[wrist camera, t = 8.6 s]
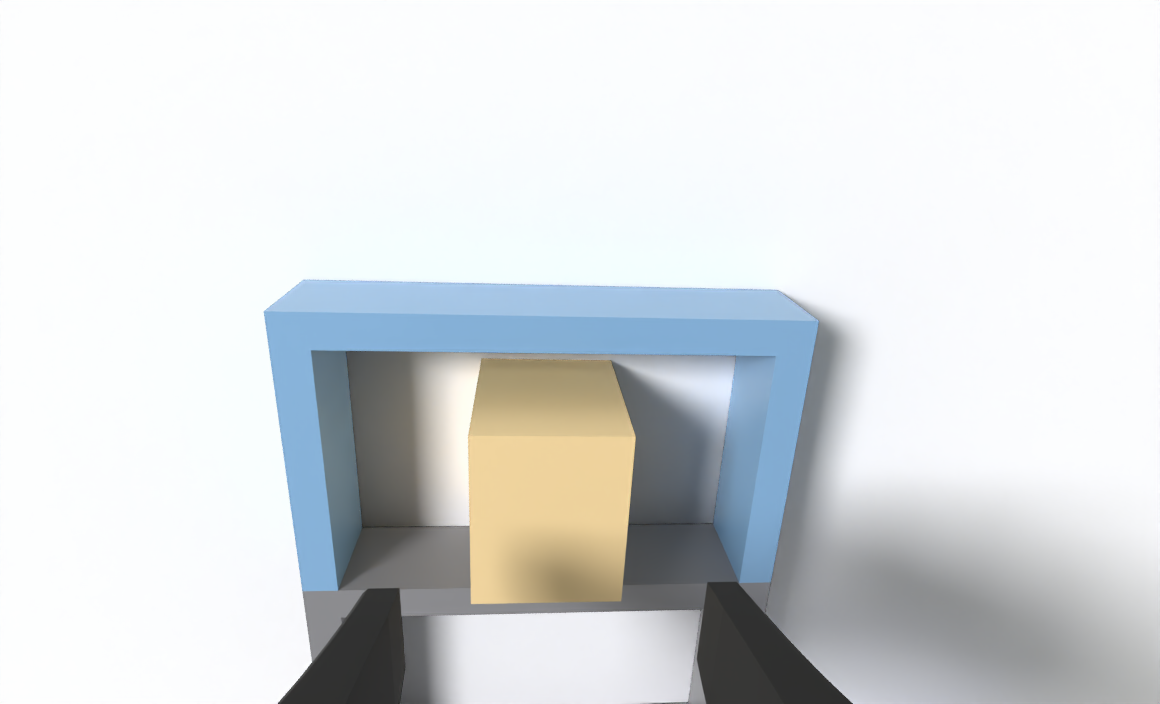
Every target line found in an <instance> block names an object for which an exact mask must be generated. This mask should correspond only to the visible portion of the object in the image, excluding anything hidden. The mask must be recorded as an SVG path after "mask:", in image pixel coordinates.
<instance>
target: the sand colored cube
mask: <svg viewBox="0 0 1160 704" xmlns="http://www.w3.org/2000/svg"><path fill="white" fill-rule="evenodd" d="M635 441H636V436H635V433H634V430H633V427H632V423H631V420H630V417H629V414H628V411H627V408H626V405H625V402H624V399H623V396H622V393H621V390H620V387H619V384H618V381H617V378H616V375H615V372H614V368H613V365H612V362H611V360H550V359H487V358H482V359H481V365H480V371H479V377H478V382H477V388H476V394H475V400H474V405H473V411H472V417H471V423H470V428H469V434H468V455H469V517H470V579H471V604H504V603H559V602H614V601H621V598H622V587H623V576H624V565H625V553H626V542H627V531H628V519H629V508H630V497H631V486H632V474H633V463H634V452H635Z"/></svg>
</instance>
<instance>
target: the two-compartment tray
mask: <svg viewBox="0 0 1160 704" xmlns="http://www.w3.org/2000/svg"><path fill="white" fill-rule="evenodd" d="M264 316H265V323H266V330H267V338H268V345H269V352H270V359H271V367H272V374H273V381H274V388H275V396H276V403H277V410H278V417H279V425H280V432H281V439H282V446H283V453H284V461H285V468H286V475H287V482H288V490H289V497H290V504H291V511H292V519H293V526H294V533H295V540H296V548H297V555H298V562H299V569H300V577H301V584H302V591H303V598H304V605H305V613H306V620H307V627H308V634H309V642H310V649H311V656H312V662H313V661H314V659H315V658H316V657H317V656H318V654H319V653H320V652H321V651H322V649H323V648H324V647H325V645H326V644H327V643H328V641H329V640H330V639H331V637H332V636H333V635H334V633H335V632H336V631H337V629H338V628H339V627H340V625H341V624H342V622H343V621H344V620H345V618H346V617H347V615H348V614H349V613H350V611H351V610H352V608H353V607H354V605H355V604H356V602H357V601H358V599H359V598H360V596H361V595H362V593H363V592H365V591H366V590H367V589H370V588H400V601H401V615H402V616H434V615H478V614H522V613H566V612H611V611H655V610H699V609H701V614H700V621H699V628H698V636H697V643H696V650H695V657H694V664H693V672H692V679H691V686H690V693H689V700H688V703H667V704H706V701H705V697H704V692H703V688H702V683H701V678H700V673H699V668H698V663H697V652H698V645H699V638H700V631H701V624H702V617H703V610H704V603H705V595H706V588H707V582H737V583H738V584H739V585H740V586H741V587H742V588H743V589H744V590H745V591H746V593H747V594H748V595H749V596H750V597H751V598H752V599H753V601H754V602H755V603H756V604H757V605H758V606H759V607H760V609H761V610H762V611H763V612H764V613H765V611H766V606H767V600H768V595H769V590H770V584H771V579H772V573H773V568H774V562H775V557H776V552H777V546H778V541H779V535H780V530H781V524H782V519H783V514H784V508H785V503H786V497H787V492H788V487H789V481H790V476H791V470H792V465H793V459H794V454H795V449H796V443H797V438H798V432H799V427H800V422H801V416H802V411H803V405H804V400H805V394H806V389H807V384H808V378H809V373H810V367H811V362H812V357H813V351H814V346H815V340H816V335H817V329H818V324H819V321H818V320H817V319H816V318H814V317H813V316H812V315H810V314H809V313H808V312H806V311H805V310H804V309H802V308H801V307H800V306H798V305H797V304H796V303H794V302H793V301H792V300H790V299H789V298H788V297H786V296H785V295H784V294H782V293H781V292H780V291H778V290H752V289H706V288H660V287H614V286H567V285H521V284H475V283H428V282H382V281H336V280H303V281H301V282H300V283H299V284H298V285H296V286H295V287H294V288H293V289H291V290H290V291H289V292H288V293H286V294H285V295H284V296H283V297H281V298H280V299H279V300H278V301H276V302H275V303H274V304H272V305H271V306H270V307H269V308H267V309H266V310H265V311H264ZM346 351H408V352H488V353H569V354H650V355H730V356H736V363H735V370H734V377H733V384H732V392H731V399H730V406H729V413H728V420H727V427H726V435H725V442H724V449H723V456H722V463H721V471H720V478H719V485H718V492H717V499H716V506H715V514H714V521H713V524H646V525H628V531H627V542H626V553H625V565H624V576H623V587H622V598H621V601H614V602H559V603H504V604H471V579H470V526H461V527H369V528H362V518H361V507H360V496H359V486H358V475H357V464H356V453H355V442H354V432H353V421H352V410H351V399H350V389H349V378H348V367H347V356H346Z"/></svg>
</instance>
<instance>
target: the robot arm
mask: <svg viewBox="0 0 1160 704" xmlns="http://www.w3.org/2000/svg"><path fill="white" fill-rule="evenodd" d="M697 663H698V668H699V673H700V678H701V683H702V688H703V692H704V697H705V701H706V704H853V703H851V702H850V701H849V700H848V699H847V698H846V697H845V696H844V695H843V694H842V693H841V692H840V691H839V690H838V689H837V688H835V687H834V686H833V685H832V684H831V683H830V682H829V681H828V680H827V679H826V678H825V677H824V676H823V675H822V674H821V673H820V672H819V671H818V670H817V669H816V668H815V667H814V666H813V665H812V664H811V663H810V662H809V661H808V660H807V659H806V658H805V657H804V655H803V654H802V653H801V652H800V651H799V650H798V649H797V648H796V647H795V646H794V645H793V644H792V643H791V642H790V641H789V640H788V639H787V637H786V636H785V635H784V634H783V633H782V632H781V631H780V630H779V629H778V628H777V626H776V625H775V624H774V623H773V622H772V621H771V620H770V619H769V618H768V616H767V615H766V614H765V613H764V612H763V611H762V610H761V609H760V607H759V606H758V605H757V604H756V603H755V602H754V601H753V599H752V598H751V597H750V596H749V595H748V594H747V593H746V591H745V590H744V589H743V588H742V587H741V586H740V585H739V584H738V583H737V582H707V588H706V595H705V603H704V610H703V617H702V624H701V631H700V638H699V645H698V652H697ZM404 672H405V657H404V643H403V629H402V615H401V601H400V588H370V589H367V590H366V591H365V592H363V593H362V595H361V596H360V598H359V599H358V601H357V602H356V604H355V605H354V607H353V608H352V610H351V611H350V613H349V614H348V615H347V617H346V618H345V620H344V621H343V622H342V624H341V625H340V627H339V628H338V629H337V631H336V632H335V633H334V635H333V636H332V637H331V639H330V640H329V641H328V643H327V644H326V645H325V647H324V648H323V649H322V651H321V652H320V653H319V654H318V656H317V657H316V658H315V659H314V661H313V662H312V663H311V665H310V666H309V667H308V668H307V670H306V671H305V672H304V673H303V675H302V676H301V677H300V678H299V679H298V681H297V682H296V683H295V684H294V685H293V687H292V688H291V689H290V690H289V691H288V692H287V693H286V695H285V696H284V697H283V698H282V699H281V700H280V702H279V703H278V704H400V698H401V692H402V685H403V679H404Z"/></svg>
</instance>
